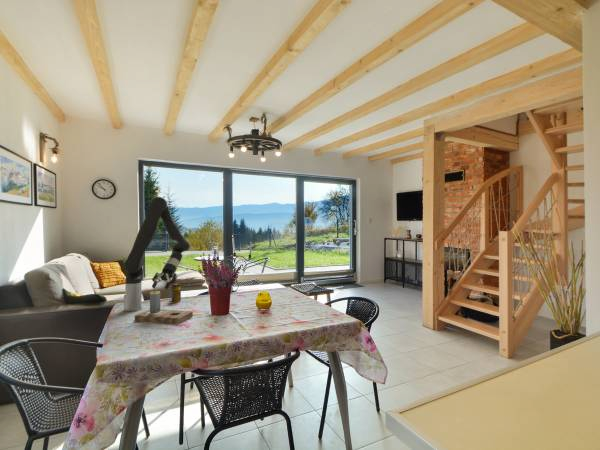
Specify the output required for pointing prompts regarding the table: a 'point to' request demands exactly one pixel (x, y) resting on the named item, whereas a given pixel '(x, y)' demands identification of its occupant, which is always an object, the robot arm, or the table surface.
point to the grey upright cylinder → (154, 301)
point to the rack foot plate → (164, 316)
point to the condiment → (176, 293)
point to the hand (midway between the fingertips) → (159, 288)
